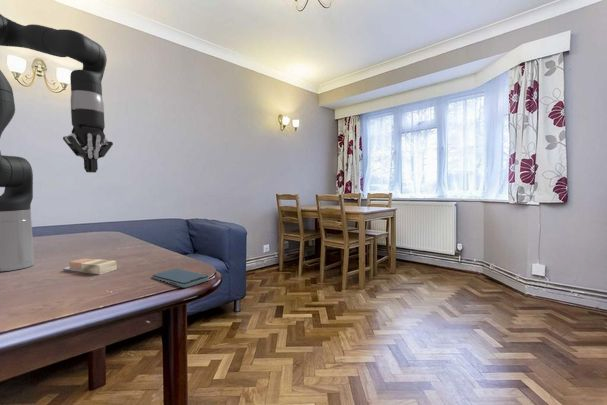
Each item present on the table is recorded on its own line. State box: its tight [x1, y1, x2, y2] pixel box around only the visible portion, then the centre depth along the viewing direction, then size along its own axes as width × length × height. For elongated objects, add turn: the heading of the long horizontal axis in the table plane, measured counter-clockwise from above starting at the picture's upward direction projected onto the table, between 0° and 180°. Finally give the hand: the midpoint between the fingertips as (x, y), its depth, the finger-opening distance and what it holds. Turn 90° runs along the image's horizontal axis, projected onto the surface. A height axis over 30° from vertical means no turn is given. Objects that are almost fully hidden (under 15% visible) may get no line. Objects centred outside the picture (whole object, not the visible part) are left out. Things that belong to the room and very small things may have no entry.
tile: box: [69, 258, 95, 270], centre depth 86 cm, size 5×4×2 cm
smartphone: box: [152, 268, 210, 289], centre depth 76 cm, size 8×2×15 cm
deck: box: [81, 258, 118, 275], centre depth 84 cm, size 7×5×2 cm
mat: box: [63, 266, 83, 273], centre depth 86 cm, size 8×4×1 cm, turn 72°
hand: (91, 172), depth 84 cm, fingers closed
